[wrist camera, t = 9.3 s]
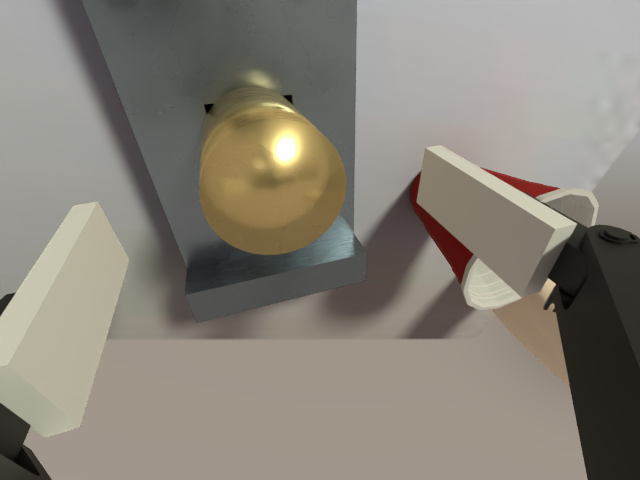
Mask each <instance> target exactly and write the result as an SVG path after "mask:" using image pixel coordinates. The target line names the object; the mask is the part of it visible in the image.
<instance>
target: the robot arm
mask: <svg viewBox="0 0 640 480" xmlns="http://www.w3.org/2000/svg"><path fill="white" fill-rule="evenodd" d="M417 203H418V204H419V205H420V206H421V207H422V208H424V209H425V210H426V211H427V212H428V213H429V214H430V215H431V216H432V217H433V218H435V219H436V220H437V221H438V222H439V223H440V224H441V225H442V226H443V227H444V228H446V229H447V230H448V231H449V232H450V233H451V234H452V235H453V236H454V237H455V238H457V239H458V240H459V241H460V242H461V243H462V244H463V245H464V246H465V247H467V248H468V249H469V250H470V251H471V252H472V253H473V254H474V255H475V256H476V257H478V258H479V259H480V260H481V261H482V262H483V263H484V264H485V265H486V266H487V267H489V268H490V269H491V270H492V271H493V272H494V273H495V274H496V275H497V276H499V277H500V278H501V279H502V280H503V281H504V282H505V283H506V284H507V285H508V286H510V287H511V288H512V289H513V290H514V291H515V292H516V293H517V294H518V295H519V296H521V297H524V296H528V295H531V294H534V293H538V292H540V291H541V290H542V288H543V286H544V284H545V282H546V280H547V279H548V278H549V279H550V280H551V281H553V282H554V283H555V284H556V285H555V286H554V288H553V290H552V292H551V293H550V295H549V297H548V299H547V300H546V302H545V304H544V307H543V310H547V309H548V308H549V306H550V305H551V304H554V306H555V308H554V309H553V311H552V312H556V317H557V322H558V327H559V332H560V337H561V343H562V348H563V353H564V358H565V364H566V369H567V374H568V379H569V384H570V389H571V395H572V400H573V405H574V410H575V415H576V421H577V426H578V431H579V436H580V441H581V446H582V451H583V457H584V462H585V467H586V473H587V478H588V480H640V239H639V238H638V237H637V236H636V235H634V234H632V233H630V232H628V231H626V230H623V229H621V228H617V227H613V226H608V225H595V226H591V227H589V228H588V227H586V226H584V225H582V224H581V223H579V222H577V221H575V220H574V219H572V218H570V217H568V216H566V215H565V214H563V213H561V212H559V211H558V210H556V209H554V208H550V206H549V205H547V204H545V203H544V202H540V200H538V199H537V198H535V197H533V196H531V195H530V194H528V193H525V192H522V191H519V190H518V189H516V188H514V187H512V186H511V185H509V184H507V183H505V182H504V181H502V180H500V179H498V178H497V177H495V176H493V175H491V174H490V173H488V172H486V171H485V170H483V169H481V168H479V167H478V166H476V165H474V164H472V163H471V162H469V161H467V160H465V159H464V158H462V157H460V156H458V155H457V154H455V153H453V152H451V151H450V150H448V149H446V148H444V147H443V146H441V145H439V146H433V147H427V148H425V153H424V159H423V165H422V171H421V177H420V183H419V190H418V196H417ZM128 263H129V259H128V257H127V255H126V253H125V251H124V249H123V248H122V246H121V244H120V242H119V240H118V238H117V236H116V235H115V233H114V231H113V229H112V227H111V225H110V224H109V222H108V220H107V218H106V216H105V214H104V212H103V211H102V209H101V207H100V205H99V203H98V202H93V203H86V204H80V205H74V206H73V207H72V209H71V210H70V212H69V213H68V215H67V216H66V218H65V219H64V221H63V222H62V224H61V226H60V227H59V229H58V230H57V232H56V233H55V235H54V236H53V238H52V239H51V241H50V242H49V244H48V245H47V247H46V248H45V250H44V251H43V253H42V254H41V256H40V257H39V259H38V260H37V262H36V263H35V265H34V266H33V268H32V269H31V271H30V272H29V274H28V275H27V277H26V278H25V280H24V281H23V283H22V284H21V286H20V288H19V289H18V291H17V292H16V293H12V294H7V295H5V296H4V297H3V298H2V299H1V300H0V480H51V478H50V477H49V475H48V474H47V472H46V471H45V469H44V468H43V466H42V465H41V464H40V462H39V461H38V459H37V458H36V456H35V455H34V453H33V452H32V450H30V449H29V448H28V447H26V446H25V445H23V443H24V440H25V438H26V435H27V433H28V431H29V428H30V427H31V428H32V429H34V430H35V431H37V432H38V433H39V434H41V435H42V436H43V437H48V436H52V435H55V434H59V433H62V432H65V431H69V430H72V429H76V428H79V427H80V426H81V422H82V419H83V416H84V412H85V409H86V405H87V402H88V399H89V395H90V392H91V389H92V385H93V382H94V378H95V375H96V372H97V368H98V365H99V361H100V358H101V354H102V351H103V348H104V344H105V341H106V338H107V334H108V331H109V328H110V324H111V321H112V317H113V314H114V311H115V307H116V304H117V301H118V297H119V294H120V290H121V287H122V284H123V280H124V277H125V273H126V270H127V267H128Z"/></svg>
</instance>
